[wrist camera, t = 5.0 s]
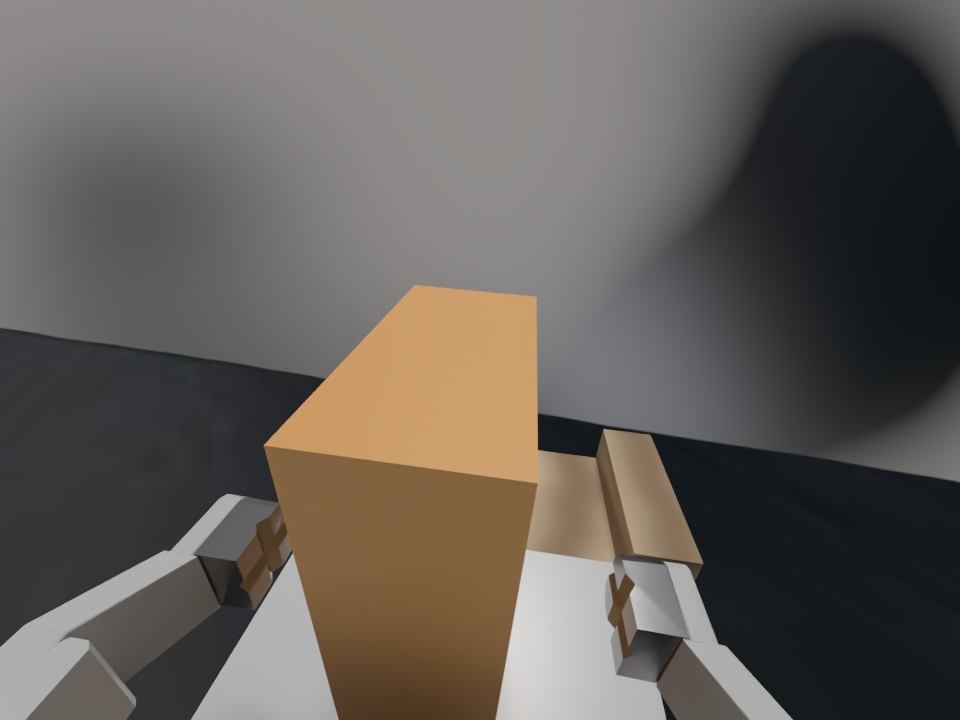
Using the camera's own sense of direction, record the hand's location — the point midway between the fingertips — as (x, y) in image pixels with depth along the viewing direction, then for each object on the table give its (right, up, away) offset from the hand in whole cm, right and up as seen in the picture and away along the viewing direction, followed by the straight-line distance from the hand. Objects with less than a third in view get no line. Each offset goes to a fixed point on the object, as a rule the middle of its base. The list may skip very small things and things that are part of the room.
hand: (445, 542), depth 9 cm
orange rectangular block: (0, -6, +3) cm, 7 cm away
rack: (+6, -5, +14) cm, 16 cm away
